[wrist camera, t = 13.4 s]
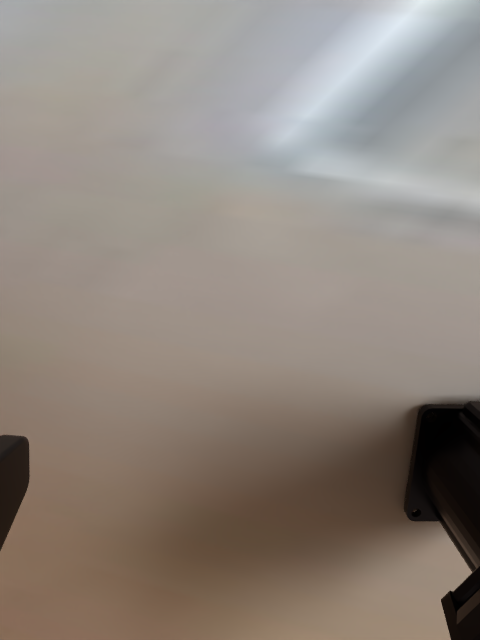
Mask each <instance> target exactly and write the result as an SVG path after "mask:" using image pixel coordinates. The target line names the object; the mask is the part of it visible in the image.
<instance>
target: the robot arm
mask: <svg viewBox="0 0 480 640" xmlns="http://www.w3.org/2000/svg"><path fill="white" fill-rule="evenodd" d="M429 413H433V415H432V417H430V418H426V417H427V415H428V414H429ZM29 476H30V475H29V442H28V439H27V438H26V437H24V436H14V435H2V436H0V551H1V548H2V546H3V544H4V542H5V539H6V537H7V535H8V532H9V530H10V528H11V525H12V523H13V521H14V519H15V516H16V514H17V512H18V509H19V507H20V505H21V502H22V500H23V498H24V496H25V493H26V491H27V488H28V484H29ZM414 509H417V510H416V511H415V512H412V511H413V510H414ZM404 511H405V513H406V515H407V517H408V518H409V519H410V520H412V521H439V522H440V523H441V525H442V526H443V528H444V529H445V531H446V532H447V534H448V536H449V537H450V539H451V540H452V542H453V543H454V545H455V546H456V548H457V549H458V551H459V553H460V554H461V556H462V557H463V559H464V560H465V562H466V563H467V565H468V566H469V568H470V570H471V571H472V574H471V575H470V576H469V577H468V578H467V579H466V580H465V581H464V582H463V583H462V584H461V585H459V586H458V587H457V588H456V589H455V590H454V591H453V592H452V591H449V592H448V593H447V594H446V595H445V596H444V597H443V598H442V599H441V603H442V606H443V610H444V614H445V618H446V622H447V625H448V629H449V633H450V637H451V640H480V402H471V401H470V402H468V403H465V404H464V405H441V404H429V405H425V406H423V407H422V408H421V409H420V410H419V413H418V418H417V425H416V431H415V438H414V445H413V451H412V458H411V464H410V471H409V477H408V484H407V491H406V497H405V504H404Z"/></svg>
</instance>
